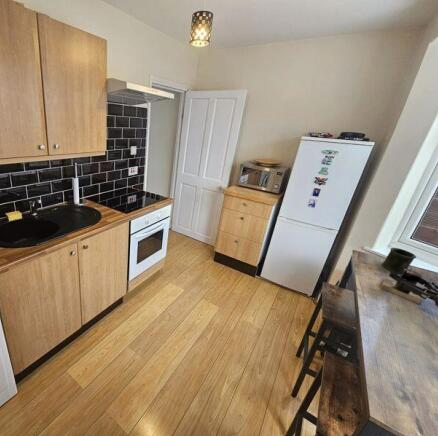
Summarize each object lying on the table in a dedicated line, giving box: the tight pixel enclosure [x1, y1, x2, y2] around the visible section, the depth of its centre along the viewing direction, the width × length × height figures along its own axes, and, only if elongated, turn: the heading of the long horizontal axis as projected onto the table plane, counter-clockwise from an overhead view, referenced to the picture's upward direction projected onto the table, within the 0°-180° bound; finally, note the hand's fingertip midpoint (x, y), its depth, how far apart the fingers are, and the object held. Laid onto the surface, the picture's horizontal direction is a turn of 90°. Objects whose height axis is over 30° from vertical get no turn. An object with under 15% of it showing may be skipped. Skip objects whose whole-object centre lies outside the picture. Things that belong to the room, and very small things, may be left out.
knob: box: [395, 268, 423, 293], centre depth 116 cm, size 6×6×10 cm
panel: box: [380, 278, 423, 305], centre depth 119 cm, size 14×10×3 cm
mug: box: [382, 247, 417, 275], centre depth 139 cm, size 11×15×12 cm
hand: (400, 274), depth 119 cm, fingers open, 10 cm apart
